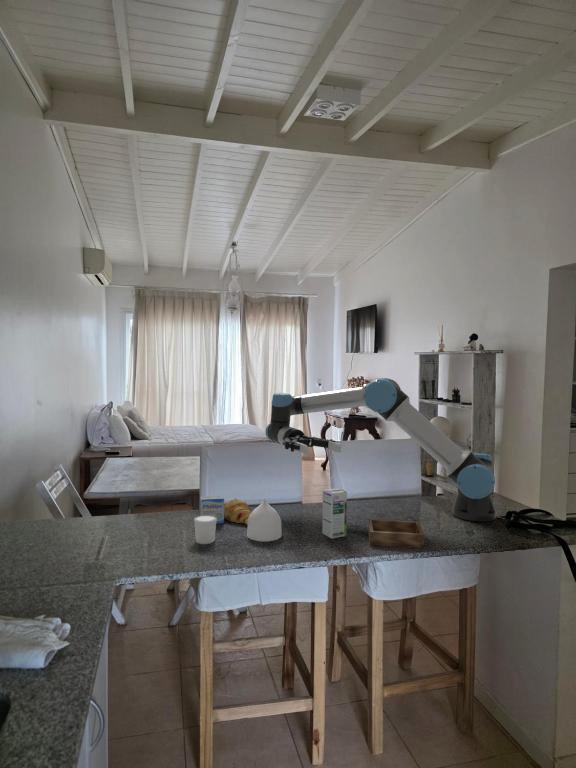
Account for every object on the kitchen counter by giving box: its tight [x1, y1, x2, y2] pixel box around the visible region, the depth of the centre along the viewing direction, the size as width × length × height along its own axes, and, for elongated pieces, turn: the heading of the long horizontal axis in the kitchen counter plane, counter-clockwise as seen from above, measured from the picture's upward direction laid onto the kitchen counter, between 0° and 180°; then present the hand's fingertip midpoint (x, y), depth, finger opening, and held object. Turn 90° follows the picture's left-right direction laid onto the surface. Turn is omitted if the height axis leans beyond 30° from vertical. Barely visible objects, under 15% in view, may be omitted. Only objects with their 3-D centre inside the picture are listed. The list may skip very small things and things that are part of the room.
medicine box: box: [199, 495, 225, 525], centre depth 172 cm, size 8×4×9 cm, turn 104°
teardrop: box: [246, 498, 283, 542], centre depth 159 cm, size 11×11×12 cm
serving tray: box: [367, 518, 425, 549], centre depth 157 cm, size 16×13×4 cm
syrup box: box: [322, 487, 348, 540], centre depth 161 cm, size 6×6×14 cm
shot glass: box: [193, 515, 217, 545], centre depth 154 cm, size 7×7×7 cm
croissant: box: [224, 498, 253, 526], centre depth 177 cm, size 21×10×8 cm, turn 36°
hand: (323, 449), depth 168 cm, fingers open, 13 cm apart
